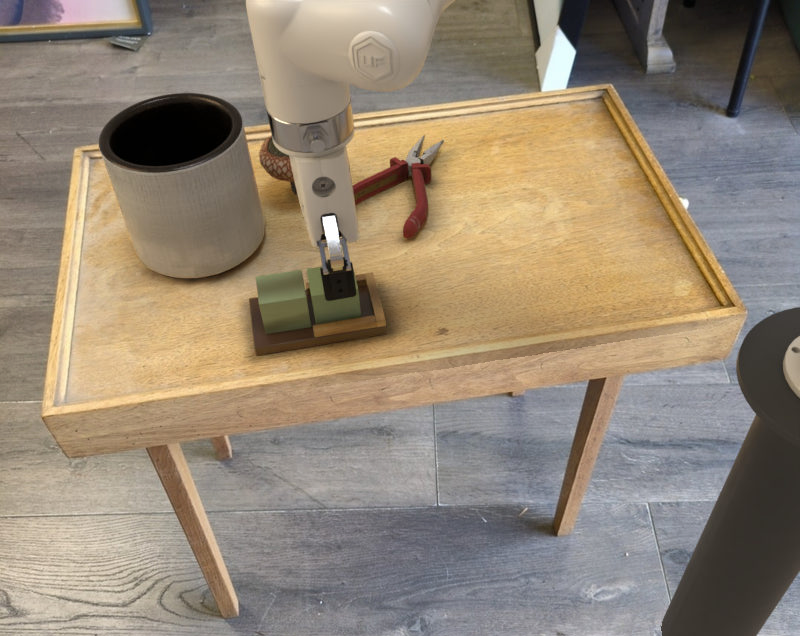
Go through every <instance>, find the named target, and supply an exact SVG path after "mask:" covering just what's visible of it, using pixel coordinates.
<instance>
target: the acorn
mask: <svg viewBox="0 0 800 636" xmlns="http://www.w3.org/2000/svg"><path fill="white" fill-rule="evenodd" d="M258 159H259V163H260V165H261V167H262V168H263V169H264V170H265V172H266V173H267V174H268V175H269V176H270V177H272V178H274V179H276V180H278V181H283V182H288V183H290V188H291V191H292V193H293V194H294V196H298V195H297V190H296V186H295V182H294V177H293V172H292V168H291V162H290V157H289V155H287V154H285V153H283V152H281V151H279V150H278V149H277V148H276V147H275V145H274V143H273V140H272V135H270V136H269V137H267V138H266V139H265V140H264V141H263V142H262V144H261V145H260V150H259V152H258Z"/></svg>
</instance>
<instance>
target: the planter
mask: <svg viewBox="0 0 800 636" xmlns="http://www.w3.org/2000/svg"><path fill="white" fill-rule="evenodd" d="M245 129H246V128H245V124H244V120H243V117H242V114H241V112H240V111H239V109H238V108H236V106H235V105H233V104H232V103H231V102H229V101H227V100H225V99H223V98H220V97H218V96H215V95H211V94H206V93H197V92H178V93H177V92H175V93H167V94H162V95H157V96H154V97H150V98H146V99H144V100H141V101H139V102H135V103H134V104H132V105H129V106H127V107H126V108H124V109H122V110H121V111H120V112H118V113H117V114H115V115H114V116H113V117H112V118H110V119H109V121H108V122H106V124H105V125H104V127H102V130H101V132H100V134H99V137H98V149H99V153H100V155H101V158H102V161H103V164H104V166H105V169H106V171H107V175H108V177H109V180H110V184H111V186H112V188H113V191H114V194H115V197H116V200H117V201H116V202H117V203H118V206H119V209H120V213H121V215H122V218H123V221H124V224H125V226H126V230H127V232H128V236H129V239H130V241H131V244H132V248H133V249H134V252H135V254H136V255H137V257H138V259H139V261H141V263H142V264H143V265H145V266H146V268H148V269H150V270H151V271H153V272H155V273H157V274H160V275H163V276H166V277H171V278H177V279H201V278H206V277H212V276H215V275H219V274H221V273H224V272H227V271H229V270H231V269H234V268H235V267H237V266H239V265H240V264H242V263H243V262H244V261H247V259H248V258H249V257H251V256H252V255H253V254H254V253H255V252H256V251H257V249H258V248H259V246H260V245H261V243H262V242H263V239H264V236H265V232H266V231H265V230H266V223H265V215H264V211H263V205H262V202H261V198H260V193H259V188H258V184H257V179H256V176H255V170H254V166H253V162H252V157H251V153H250V148H249V144H248V143H249V142H248V139H247V135H246V130H245Z"/></svg>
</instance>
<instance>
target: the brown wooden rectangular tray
mask: <svg viewBox="0 0 800 636" xmlns="http://www.w3.org/2000/svg"><path fill="white" fill-rule="evenodd" d="M355 277H356V281H357V286H358V291H359V301H360V310H361V317H360V318H354V319H348V320H342V321H336V322H330V323H324V324H318V325H316V322H315V316H314V311H313V305H312V300H311V294H310V288H309V282H308V281H307V282H305V281H304V275H303V270H302V269H294V270H289V271H283V272H276V273H275V272H274V273H269V274H263V275H257V276H255V282H256V283H255V284H256V291H257V297H251V298H249V299H248V302H249V303H248V304H249V310H250V311H249V312H250V320H251V321H250V322H251V329H252V338H253V339H252V340H253V348H254V352H255V356H262V355H268V354H274V353H280V352H286V351H292V350H298V349H304V348H310V347H316V346H321V345H322V346H323V345H328V344H333V343H334V344H335V343H340V342H346V341H347V342H348V341H352V340H359V339H364V338H365V339H366V338H369V337H370V338H371V337H376V336H377V337H378V336H383V335H387V334H388V330H387V321H386V317H385V312H384V308H383V305H382V301H381V297H380V293H379V290H378V285H377V281H376V277H375V274H374V272H373V271H372V272H366V273H359V274H355Z"/></svg>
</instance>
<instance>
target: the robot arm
mask: <svg viewBox="0 0 800 636" xmlns="http://www.w3.org/2000/svg"><path fill="white" fill-rule="evenodd" d="M454 2H456V0H245V7H246V15H247V19H248V25H249V29H250V35H251V40H252V45H253V50H254V54H255V61H256V64H257V70H258V74H259V80H260V84H261V89H262V94H263V99H264V104H265V109H266V114H267V118H268V124H269V129H270V134H271V135H272V140H273V143H274V145H275V147H276V148H277V149H278V150H279V151H281V152H283V153H285V154H287V155H289V157H290V162H291V168H292V172H293V177H294V182H295V186H296V190H297V195H296V196H297V199H298V203H299V206H300V210H301V214H302V217H303V221H304V225H305V227H306V231H307V234H308V238H309V241H310V244H311V247H313V248H315V249H317V250H318V252H319V257H320V262H321V266H322V268H320V272H321V277H322V283H323V289H324V295H325V299H326V300H327V301H332V300H338V299H344V298H349V297H354V296H356V294H357V293H356V286H355V278H354V273H355V270H354V271H353V269H354V266H353V265H354V264H353V262H352V263H350V262H351V258H350V253H349V248H348V244H352V243H357V242H359V240H360V239H361V234H360V228H359V220H358V216H357V215H358V214H357V208H356V205H355V199H354V192H353V185H354V184H353V179H352V172H351V166H350V165H351V164H350V159H349V154H348V149H347V146H348V144H350V143H351V141H352V140H353V139H354V136H355V131H356V129H355V122H354V121H355V120H354V115H353V114H354V112H353V105H352V104H353V103H352V95H351V87H354V88H359V89H362V90H367V91H373V92H379V93H380V92H381V93H382V92H383V93H385V92H394V91H398V90H401V89H404V88H406V87H407V86H409V85H411V84H412V83H413V82H414V81H415V79H417V78H418V76H419V74H420V73H421V71H422V69H423V67H424V65H425V64H426V59H427V57H428V54H429V50H430V47H431V44H432V41H433V38H434V35H435V31H436V28H437V25H438V22H439V19H440V17H441V15H442V14H443V12H444V11H445V10H446V9H447V8H448V7H449V6H450V5H452V4H453V3H454ZM271 135H270V136H271ZM325 248H327V251H328V252H327V253H328V257H329V259H327V255H326V249H325ZM783 372H784V375H785V379H786V381H787V382H788V384H789V386H790V388H791V389H792V390H793V391H794V392H795V394H796V395H797V396H798V397H799V398H800V336H799V337H797V338H796V339H795V340H794V341H793V342H792V343H791V344H790V345H789V347H788V349H787V351H786V353H785V356H784V360H783Z"/></svg>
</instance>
